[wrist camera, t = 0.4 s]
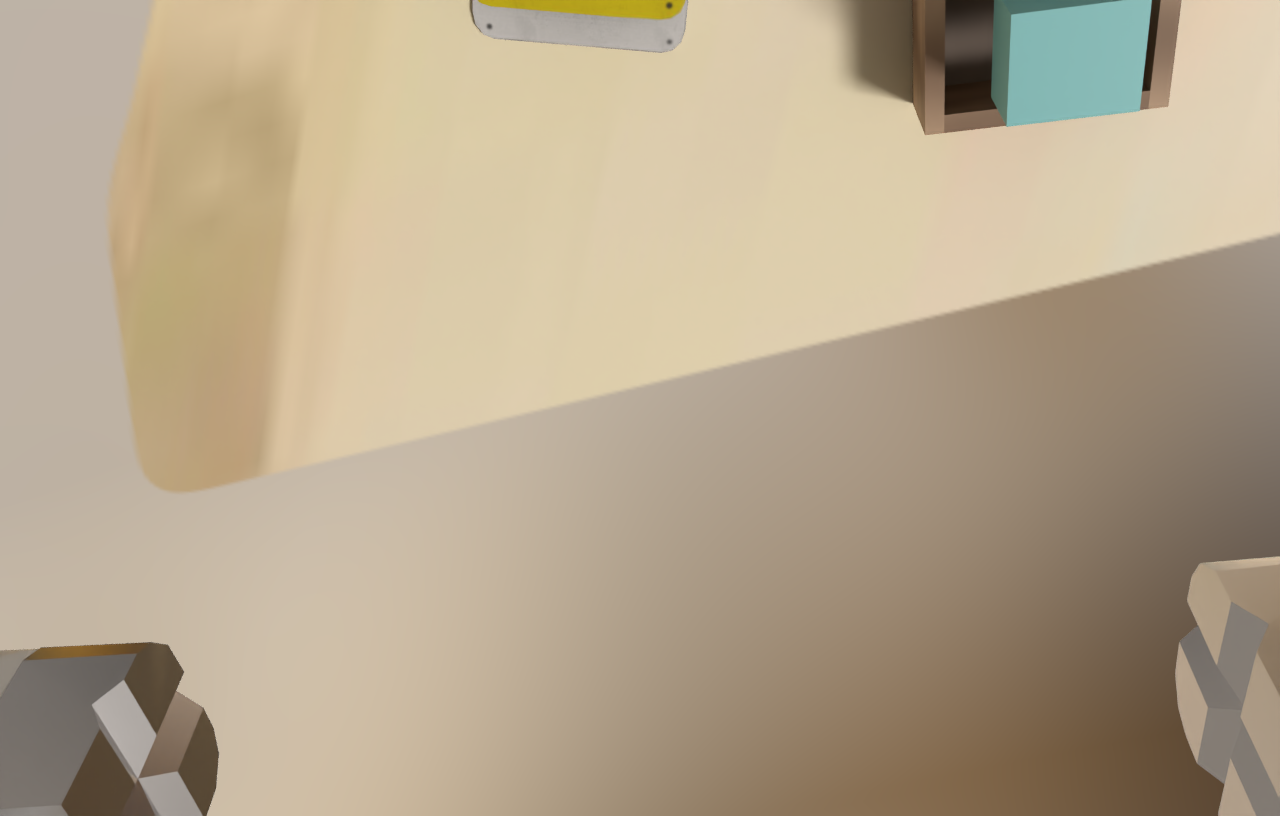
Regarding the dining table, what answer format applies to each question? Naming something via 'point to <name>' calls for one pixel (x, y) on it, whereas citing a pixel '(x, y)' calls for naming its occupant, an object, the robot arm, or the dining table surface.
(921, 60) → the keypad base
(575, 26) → the emergency button
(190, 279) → the dining table surface
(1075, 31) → the teal block
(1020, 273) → the dining table surface
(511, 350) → the dining table surface
